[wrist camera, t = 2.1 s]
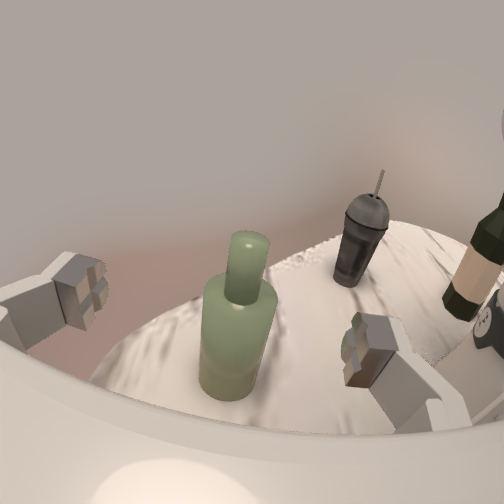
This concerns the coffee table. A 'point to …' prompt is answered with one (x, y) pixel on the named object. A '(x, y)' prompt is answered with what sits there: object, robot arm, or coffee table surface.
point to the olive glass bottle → (236, 320)
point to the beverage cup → (360, 236)
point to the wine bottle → (478, 267)
